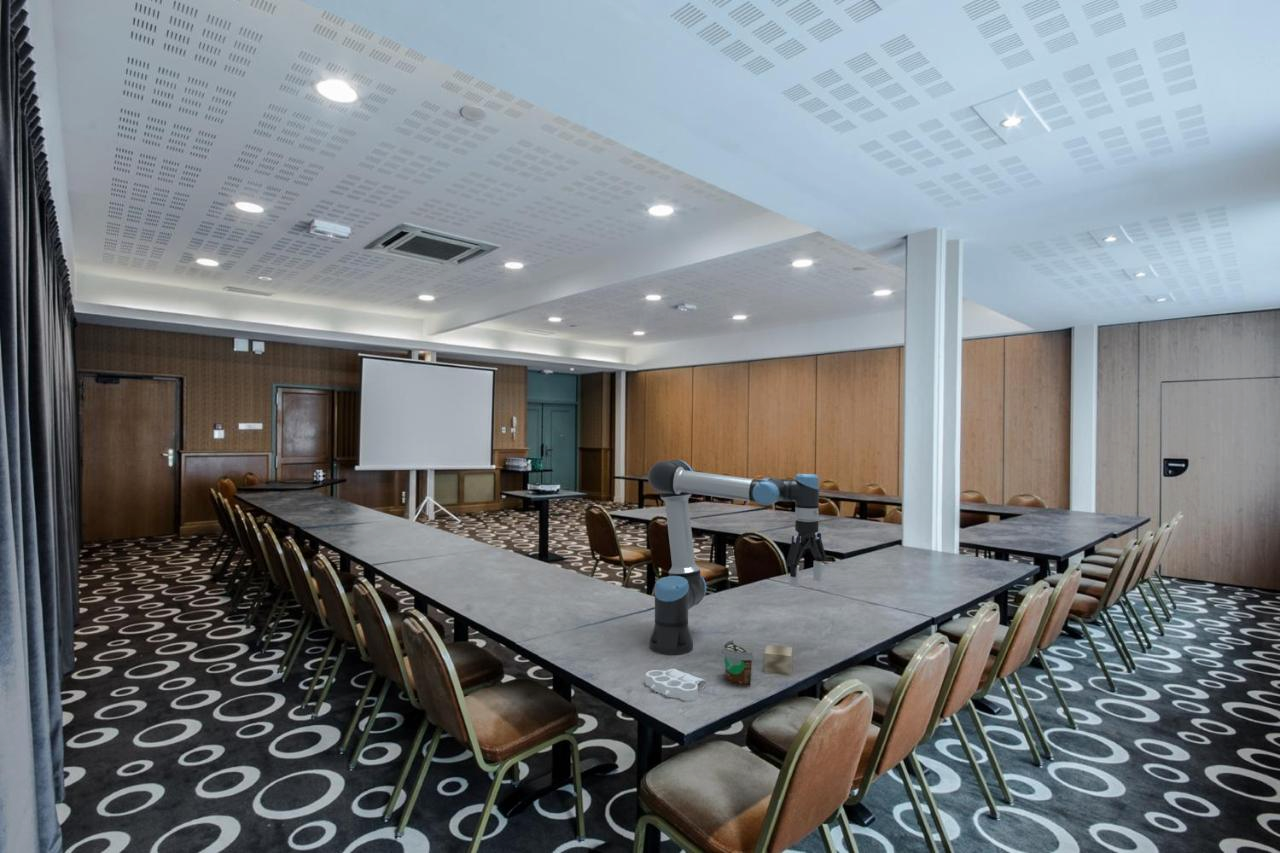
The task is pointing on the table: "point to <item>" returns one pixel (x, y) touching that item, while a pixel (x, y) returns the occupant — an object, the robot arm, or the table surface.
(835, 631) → the table surface
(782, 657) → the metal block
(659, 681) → the white brass knuckles
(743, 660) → the food container
